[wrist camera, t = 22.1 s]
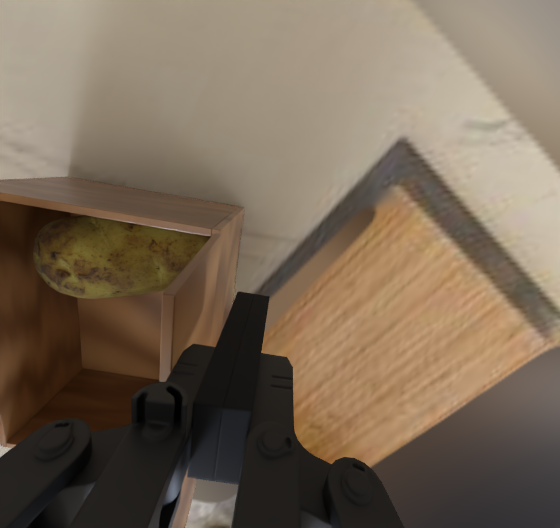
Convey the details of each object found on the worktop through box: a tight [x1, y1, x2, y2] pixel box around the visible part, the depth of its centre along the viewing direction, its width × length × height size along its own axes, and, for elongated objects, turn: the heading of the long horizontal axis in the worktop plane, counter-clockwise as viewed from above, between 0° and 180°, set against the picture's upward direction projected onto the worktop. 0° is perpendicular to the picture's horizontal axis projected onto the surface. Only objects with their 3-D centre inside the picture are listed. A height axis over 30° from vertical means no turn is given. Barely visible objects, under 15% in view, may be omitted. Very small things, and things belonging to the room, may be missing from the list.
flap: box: [159, 233, 221, 528], centre depth 16 cm, size 21×8×1 cm
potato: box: [33, 215, 212, 299], centre depth 22 cm, size 8×13×8 cm, turn 71°
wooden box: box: [0, 177, 244, 448], centre depth 20 cm, size 21×17×17 cm
